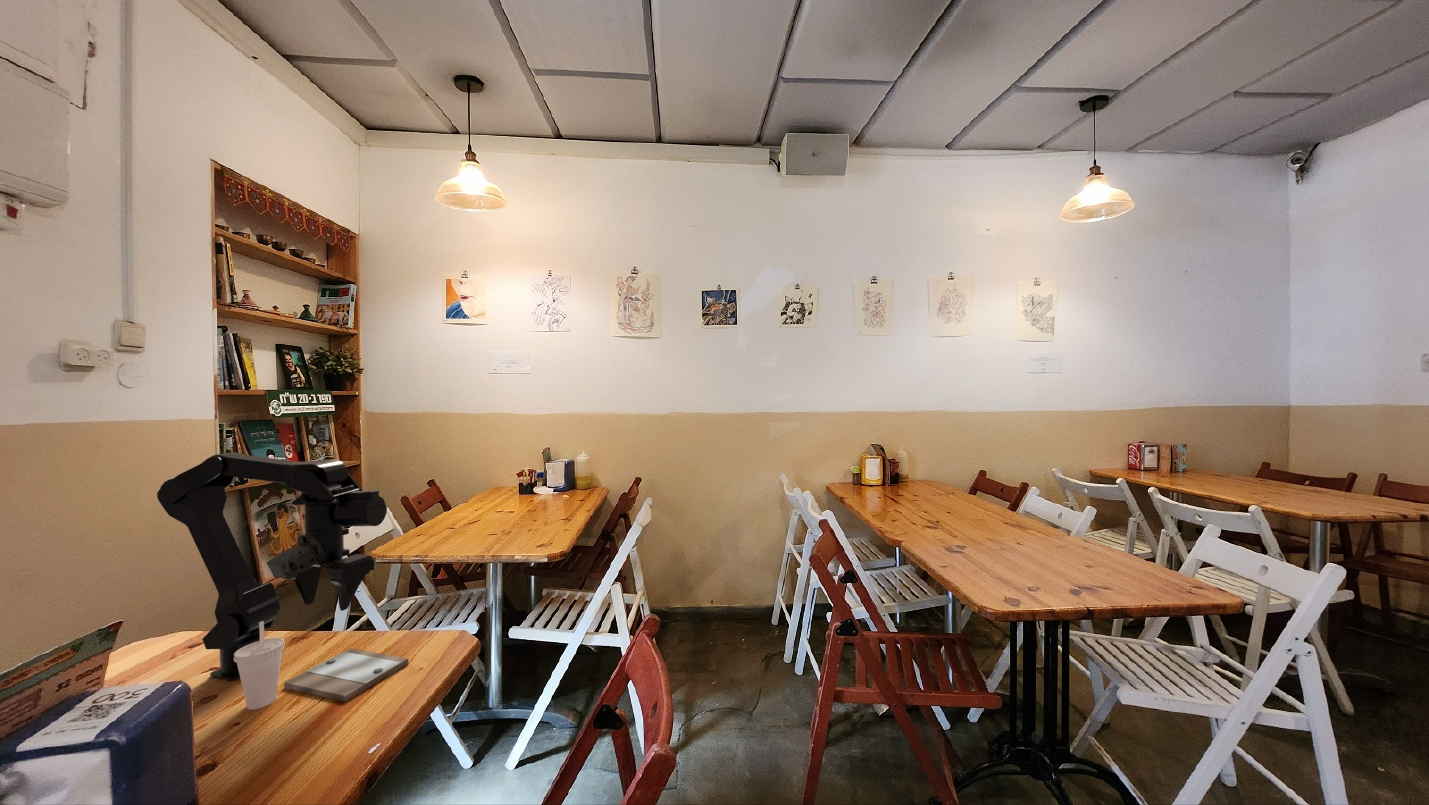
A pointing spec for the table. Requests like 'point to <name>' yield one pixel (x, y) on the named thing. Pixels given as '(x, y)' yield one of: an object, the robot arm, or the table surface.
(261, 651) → the smoothie
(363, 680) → the gray and brown board
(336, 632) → the table surface
